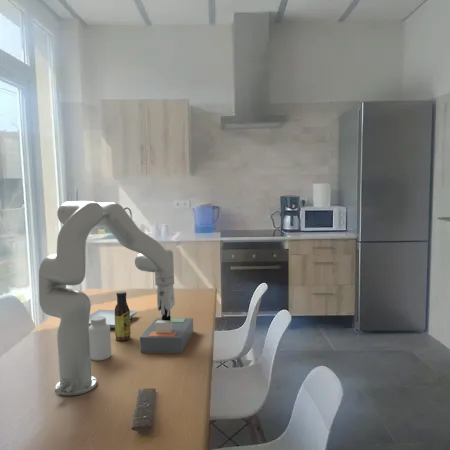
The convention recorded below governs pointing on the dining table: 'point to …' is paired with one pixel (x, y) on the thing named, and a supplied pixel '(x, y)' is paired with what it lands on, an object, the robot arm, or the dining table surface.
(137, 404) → the dining table surface
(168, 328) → the switch knob
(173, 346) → the switch box
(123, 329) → the sauce bottle
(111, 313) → the salad plate
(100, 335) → the pill bottle
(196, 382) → the dining table surface
